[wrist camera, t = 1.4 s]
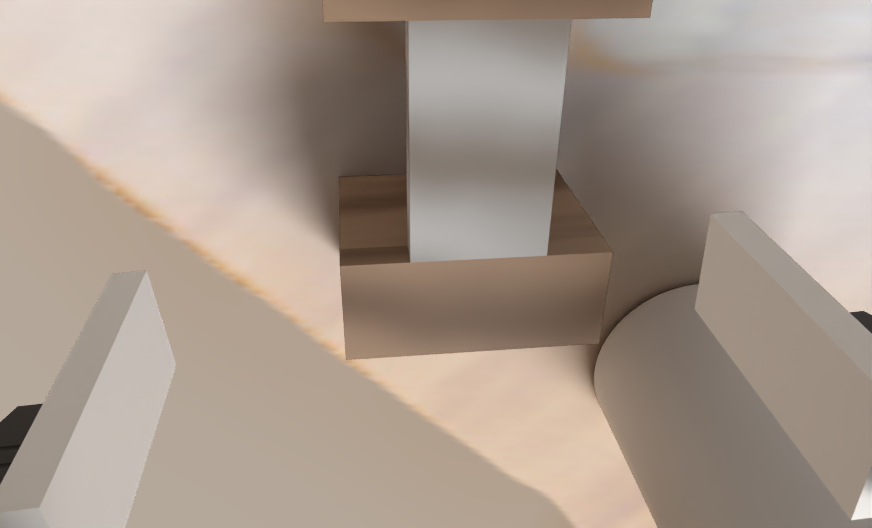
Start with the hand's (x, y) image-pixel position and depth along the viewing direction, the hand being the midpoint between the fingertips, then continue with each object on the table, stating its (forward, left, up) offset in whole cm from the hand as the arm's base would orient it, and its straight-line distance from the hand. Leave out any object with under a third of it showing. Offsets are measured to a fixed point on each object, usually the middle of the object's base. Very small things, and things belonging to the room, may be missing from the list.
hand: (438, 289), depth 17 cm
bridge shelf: (+1, +3, -22) cm, 22 cm away
